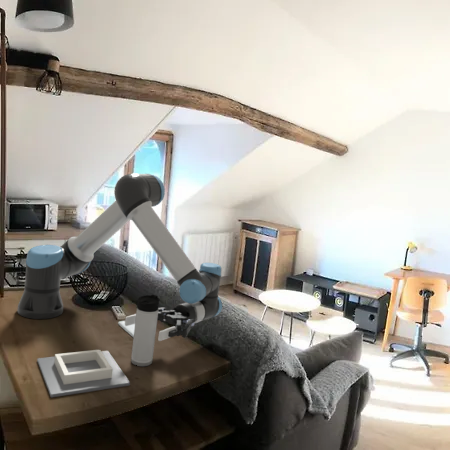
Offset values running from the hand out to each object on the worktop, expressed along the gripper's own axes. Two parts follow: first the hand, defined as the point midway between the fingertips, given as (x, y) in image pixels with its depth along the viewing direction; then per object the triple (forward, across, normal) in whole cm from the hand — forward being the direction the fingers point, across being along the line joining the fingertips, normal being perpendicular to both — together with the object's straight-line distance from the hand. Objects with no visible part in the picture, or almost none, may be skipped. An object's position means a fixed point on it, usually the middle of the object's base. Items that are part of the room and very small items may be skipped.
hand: (142, 328), depth 131 cm
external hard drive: (-18, +19, -12) cm, 29 cm away
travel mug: (-2, 0, -11) cm, 11 cm away
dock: (+15, +6, -11) cm, 20 cm away
